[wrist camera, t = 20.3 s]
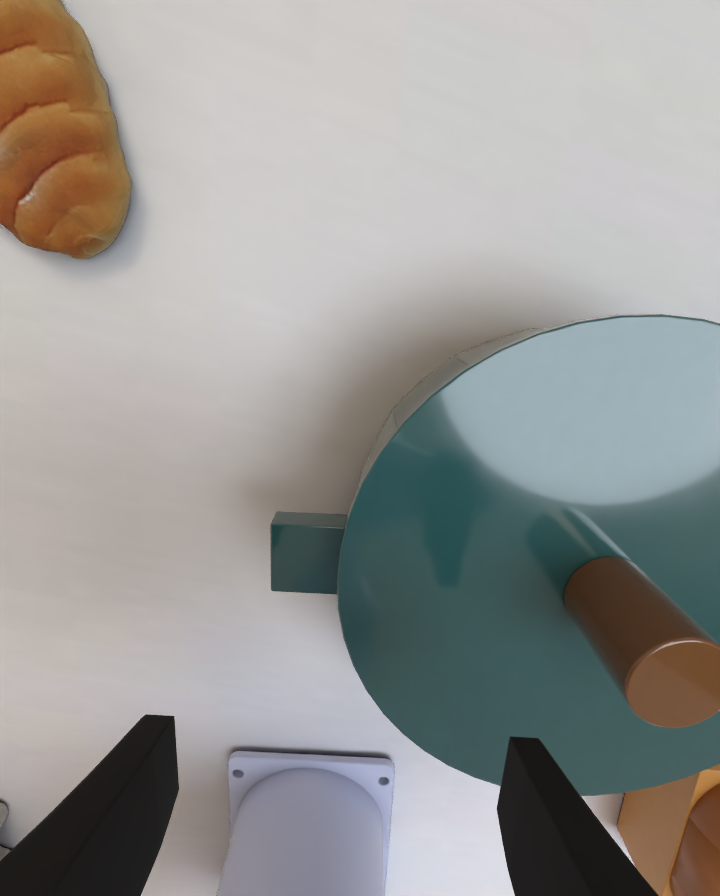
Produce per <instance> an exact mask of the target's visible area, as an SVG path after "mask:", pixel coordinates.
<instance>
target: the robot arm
mask: <svg viewBox="0 0 720 896" xmlns="http://www.w3.org/2000/svg"><path fill="white" fill-rule="evenodd" d="M394 775H395V769H394V763H393V762H392V761H391V760H389V759H386V758H369V757H350V756H330V755H310V754H290V753H271V752H251V751H235V752H233V753H232V754H231V755H230V758H229V761H228V783H229V806H230V830H231V841H230V845H229V849H228V853H227V857H226V860H225V864H224V868H223V872H222V876H221V880H220V883H219V887H218V891H217V895H216V896H385V886H386V874H387V862H388V849H389V837H390V825H391V812H392V800H393V788H394ZM382 777H385V778H382ZM178 791H179V783H178V767H177V752H176V737H175V721H174V716H162V715H145V716H144V717H142V718H141V719H140V720H139V721H138V722H137V723H136V725H135V726H134V727H133V728H132V729H131V730H130V731H129V732H128V733H127V734H126V735H125V736H124V737H123V739H122V740H121V741H120V742H119V743H118V744H117V745H116V746H115V747H114V748H113V749H112V750H111V751H110V752H109V754H108V755H107V756H106V757H105V758H104V759H103V760H102V761H101V762H100V763H99V764H98V765H97V766H96V767H95V768H94V769H93V770H92V771H91V772H90V774H89V775H88V776H87V777H86V778H85V779H84V780H83V781H82V782H81V783H80V784H79V785H78V786H77V787H76V788H75V789H74V790H73V791H72V792H71V793H70V794H69V795H68V796H67V797H66V798H65V799H64V800H63V801H62V802H61V803H60V804H59V805H58V806H57V807H56V808H55V809H54V810H53V811H52V812H51V813H50V814H49V815H48V816H47V817H46V818H45V819H44V820H43V821H42V822H41V823H40V824H39V825H37V826H36V827H35V828H34V829H33V830H32V831H31V832H30V833H29V834H28V835H27V836H26V837H25V838H24V839H23V840H22V841H21V842H19V843H18V844H17V845H16V846H15V847H14V848H13V849H12V850H11V851H10V852H9V853H8V854H7V855H6V856H5V857H4V858H2V859H1V860H0V896H141V894H142V891H143V889H144V886H145V884H146V882H147V879H148V877H149V874H150V872H151V870H152V867H153V865H154V862H155V860H156V858H157V855H158V853H159V850H160V848H161V845H162V842H163V839H164V836H165V832H166V829H167V826H168V823H169V820H170V817H171V814H172V810H173V807H174V804H175V801H176V797H177V794H178ZM497 812H498V818H499V824H500V829H501V835H502V841H503V846H504V851H505V857H506V862H507V867H508V871H509V875H510V879H511V882H512V886H513V890H514V893H515V896H659V895H658V894H657V893H656V892H655V890H654V889H653V888H652V887H651V886H650V884H649V883H648V882H647V881H646V880H645V879H644V877H643V876H642V875H641V874H640V872H639V871H638V870H637V869H636V867H635V866H634V865H633V864H632V862H631V861H630V860H629V859H628V857H627V856H626V855H625V854H624V852H623V851H622V850H621V848H620V847H619V846H618V845H617V843H616V842H615V841H614V839H613V838H612V837H611V836H610V834H609V833H608V832H607V830H606V829H605V828H604V827H603V825H602V824H601V823H600V821H599V820H598V819H597V817H596V816H595V815H594V813H593V812H592V811H591V809H590V808H589V807H588V805H587V804H586V803H585V801H584V800H583V799H582V797H581V796H580V795H579V793H578V792H577V790H576V789H575V788H574V786H573V785H572V784H571V782H570V781H569V779H568V778H567V777H566V775H565V774H564V772H563V771H562V770H561V768H560V767H559V765H558V764H557V763H556V761H555V760H554V758H553V757H552V756H551V754H550V753H549V751H548V750H547V749H546V747H545V746H544V744H543V743H542V742H541V741H540V739H539V738H528V737H512V736H510V738H509V744H508V749H507V755H506V760H505V766H504V772H503V777H502V783H501V788H500V794H499V799H498V805H497Z"/></svg>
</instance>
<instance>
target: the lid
mask: <svg viewBox="0 0 720 896" xmlns="http://www.w3.org/2000/svg"><path fill="white" fill-rule="evenodd" d="M337 597H338V612H339V617H340V622H341V627H342V633H343V638H344V641H345V643H346V646H347V649H348V652H349V655H350V658H351V661H352V663H353V666H354V668H355V670H356V671H357V673H358V675H359V677H360V679H361V681H362V683H363V685H364V687H365V689H366V690H367V692H368V693H369V695H370V696H371V697H372V699H373V700H374V701H375V703H376V704H377V706H378V707H379V708H380V710H381V711H382V712H383V714H384V715H385V716H386V717H387V718H388V719H389V720H390V721H391V722H392V723H393V724H394V725H395V726H396V727H397V728H398V729H399V730H400V731H401V732H402V733H403V734H404V735H405V736H406V737H408V738H409V739H410V740H411V741H413V742H414V743H415V744H416V745H418V746H419V747H420V748H421V749H423V750H424V751H425V752H427V753H429V754H430V755H432V756H434V757H435V758H437V759H438V760H440V761H442V762H443V763H445V764H447V765H448V766H450V767H453V768H455V769H457V770H459V771H461V772H464V773H466V774H468V775H470V776H472V777H475V778H477V779H480V780H484V781H487V782H490V783H493V784H496V785H499V786H501V783H502V777H503V772H504V766H505V760H506V755H507V749H508V744H509V738H510V736H512V737H528V738H539V739H540V741H541V742H542V743H543V744H544V746H545V747H546V749H547V750H548V751H549V753H550V754H551V756H552V757H553V758H554V760H555V761H556V763H557V764H558V765H559V767H560V768H561V770H562V771H563V772H564V774H565V775H566V777H567V778H568V779H569V781H570V782H571V784H572V785H573V786H574V788H575V789H576V790H577V792H578V793H579V795H580V796H597V795H607V794H618V793H626V792H631V791H636V790H641V789H646V788H652V787H656V786H659V785H663V784H666V783H670V782H673V781H676V780H680V779H683V778H686V777H689V776H691V775H694V774H696V773H699V772H701V771H704V770H706V769H709V768H711V767H714V766H716V765H718V764H720V323H716V322H712V321H708V320H704V319H698V318H689V317H680V316H672V315H663V314H641V315H610V316H604V317H597V318H591V319H584V320H578V321H572V322H568V323H565V324H561V325H558V326H554V327H551V328H547V329H544V330H540V331H537V332H534V333H531V334H529V335H526V336H524V337H522V338H519V339H517V340H515V341H512V342H510V343H508V344H505V345H503V346H501V347H498V348H496V349H494V350H492V351H491V352H489V353H487V354H485V355H484V356H482V357H480V358H479V359H477V360H475V361H473V362H472V363H470V364H468V365H467V366H465V367H463V368H462V369H460V370H459V371H457V372H456V373H455V374H453V375H452V376H451V377H449V378H448V379H447V380H446V381H444V382H443V383H442V384H440V385H439V386H438V387H436V388H435V389H434V390H433V391H431V392H430V393H429V394H428V395H427V396H426V397H425V398H424V399H423V400H422V401H421V402H420V403H419V404H418V405H417V406H416V407H415V408H414V409H413V410H412V411H411V412H409V413H408V414H407V415H406V416H405V417H404V418H403V419H402V421H401V422H400V423H399V424H398V426H397V427H396V428H395V430H394V431H393V432H392V433H391V435H390V436H389V437H388V439H387V440H386V441H385V442H384V444H383V445H382V446H381V448H380V449H379V451H378V452H377V454H376V456H375V457H374V459H373V461H372V462H371V464H370V466H369V468H368V469H367V471H366V473H365V474H364V476H363V478H362V480H361V482H360V485H359V487H358V489H357V492H356V494H355V497H354V499H353V501H352V504H351V506H350V509H349V512H348V516H347V520H346V523H345V527H344V531H343V535H342V539H341V544H340V553H339V563H338V572H337Z"/></svg>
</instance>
